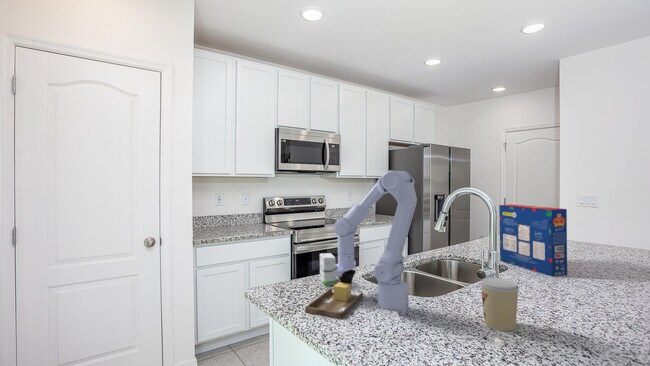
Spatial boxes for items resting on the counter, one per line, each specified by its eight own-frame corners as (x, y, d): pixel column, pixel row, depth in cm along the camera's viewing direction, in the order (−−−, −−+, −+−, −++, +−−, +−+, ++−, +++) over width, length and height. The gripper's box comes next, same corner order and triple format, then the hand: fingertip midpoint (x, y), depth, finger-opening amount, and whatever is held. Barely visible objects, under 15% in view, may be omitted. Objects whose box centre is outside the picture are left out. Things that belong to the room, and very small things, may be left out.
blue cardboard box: (567, 275, 136) (566, 209, 135) (552, 276, 134) (551, 209, 134) (513, 259, 163) (512, 204, 163) (499, 260, 161) (499, 205, 161)
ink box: (336, 287, 123) (336, 257, 123) (324, 288, 122) (323, 258, 122) (331, 281, 132) (331, 252, 132) (319, 282, 131) (319, 253, 131)
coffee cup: (485, 315, 97) (485, 275, 97) (521, 323, 91) (521, 281, 91) (477, 326, 90) (476, 283, 90) (515, 336, 84) (515, 290, 84)
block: (351, 296, 110) (350, 283, 110) (346, 301, 106) (345, 287, 106) (338, 294, 112) (338, 282, 112) (333, 299, 108) (333, 286, 108)
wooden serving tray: (363, 300, 110) (362, 292, 110) (342, 323, 93) (342, 313, 93) (330, 295, 115) (330, 288, 115) (305, 316, 98) (305, 307, 98)
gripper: (343, 247, 121) (343, 283, 121) (326, 256, 108) (327, 296, 108) (361, 249, 118) (361, 286, 118) (346, 258, 104) (347, 299, 105)
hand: (346, 291), depth 112 cm, fingers closed
